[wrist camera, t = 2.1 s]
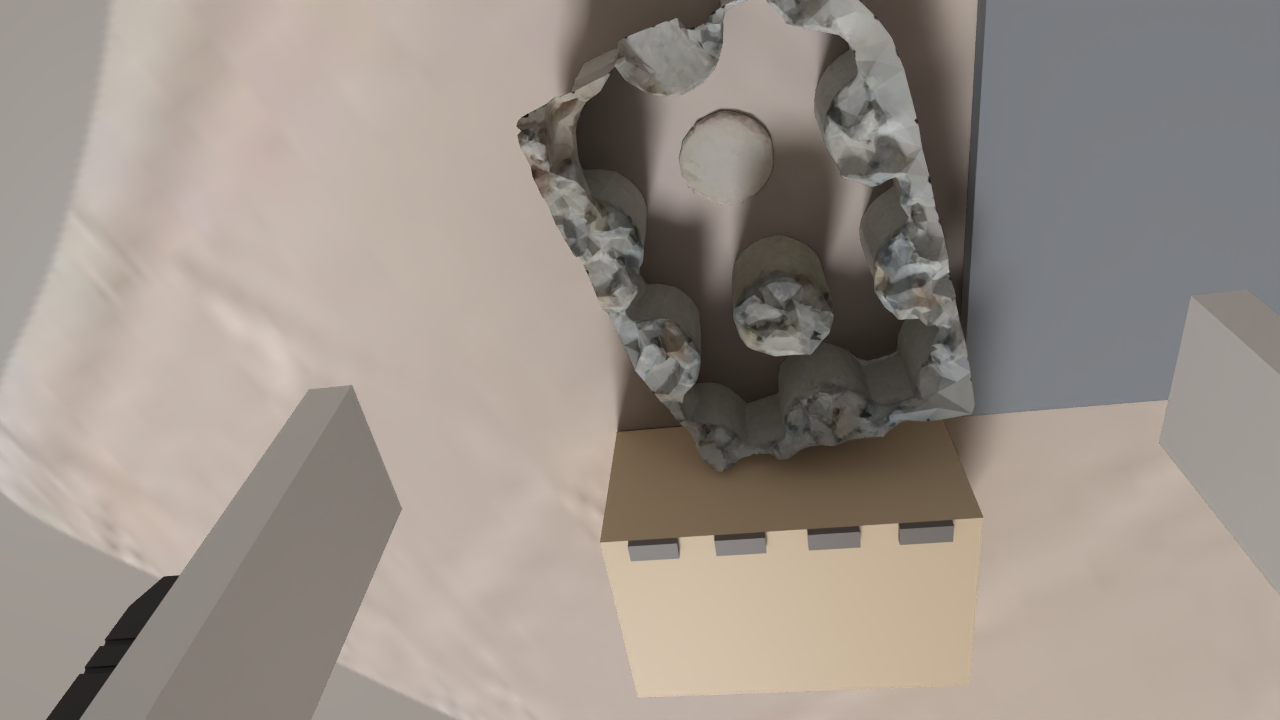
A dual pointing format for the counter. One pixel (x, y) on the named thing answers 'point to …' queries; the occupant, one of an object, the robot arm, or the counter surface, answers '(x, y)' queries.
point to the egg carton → (769, 245)
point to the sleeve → (793, 564)
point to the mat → (1113, 190)
